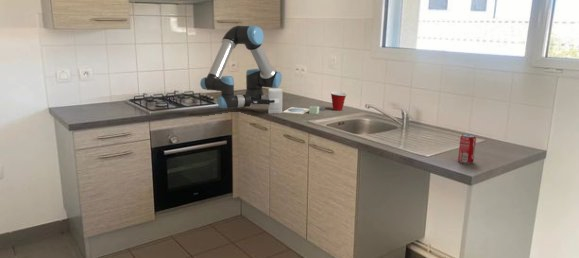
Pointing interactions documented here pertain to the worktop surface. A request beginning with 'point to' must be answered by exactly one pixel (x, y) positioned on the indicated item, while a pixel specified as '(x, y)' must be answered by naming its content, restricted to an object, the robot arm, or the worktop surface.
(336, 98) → the plastic cup
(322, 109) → the button track
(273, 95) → the supplement box
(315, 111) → the button
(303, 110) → the sketch pad
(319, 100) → the worktop surface
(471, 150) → the soda can
